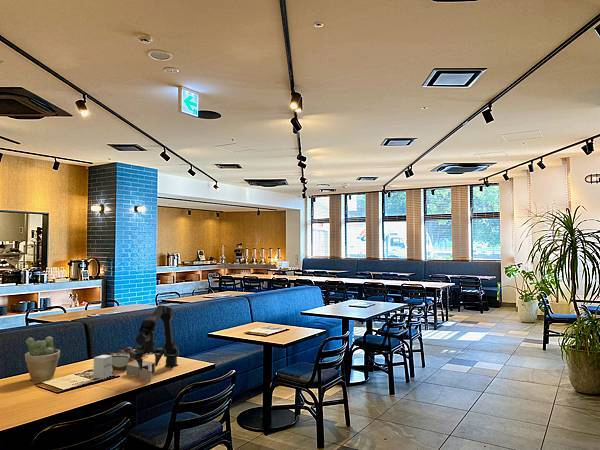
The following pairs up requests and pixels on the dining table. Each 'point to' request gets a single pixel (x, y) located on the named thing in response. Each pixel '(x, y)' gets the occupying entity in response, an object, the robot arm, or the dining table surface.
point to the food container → (120, 361)
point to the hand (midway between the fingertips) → (148, 368)
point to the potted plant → (41, 359)
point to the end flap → (146, 372)
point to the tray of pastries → (130, 351)
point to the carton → (134, 368)
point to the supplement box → (102, 366)
